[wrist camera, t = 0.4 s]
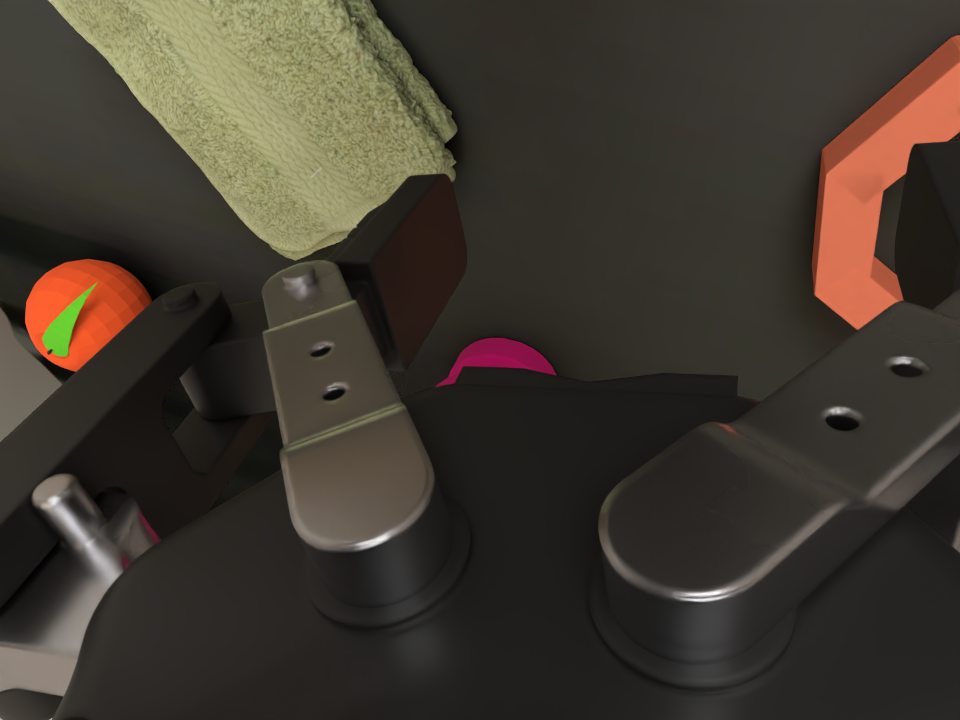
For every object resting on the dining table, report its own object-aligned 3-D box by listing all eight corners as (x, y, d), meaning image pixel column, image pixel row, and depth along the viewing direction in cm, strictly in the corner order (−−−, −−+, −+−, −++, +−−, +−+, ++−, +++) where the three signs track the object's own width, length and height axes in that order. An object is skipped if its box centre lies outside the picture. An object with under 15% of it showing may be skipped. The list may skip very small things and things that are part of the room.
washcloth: (305, 259, 40) (276, 290, 38) (56, -41, 33) (1, -26, 31) (488, 153, 33) (466, 184, 30) (218, -260, 26) (163, -262, 23)
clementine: (96, 205, 42) (2, 268, 37) (196, 277, 44) (119, 348, 38) (71, 283, 48) (-14, 348, 42) (161, 346, 49) (90, 416, 44)
